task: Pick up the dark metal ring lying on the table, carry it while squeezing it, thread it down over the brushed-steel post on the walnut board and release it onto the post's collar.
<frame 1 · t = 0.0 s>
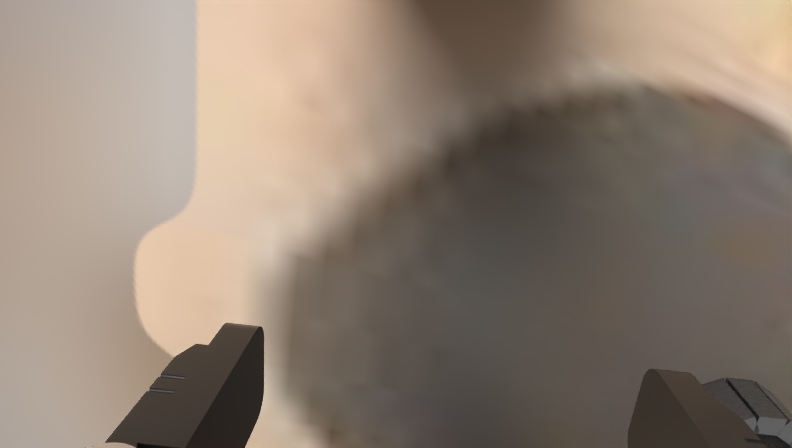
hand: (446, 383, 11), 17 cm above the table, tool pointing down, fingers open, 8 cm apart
ring: (723, 421, 31), on the table
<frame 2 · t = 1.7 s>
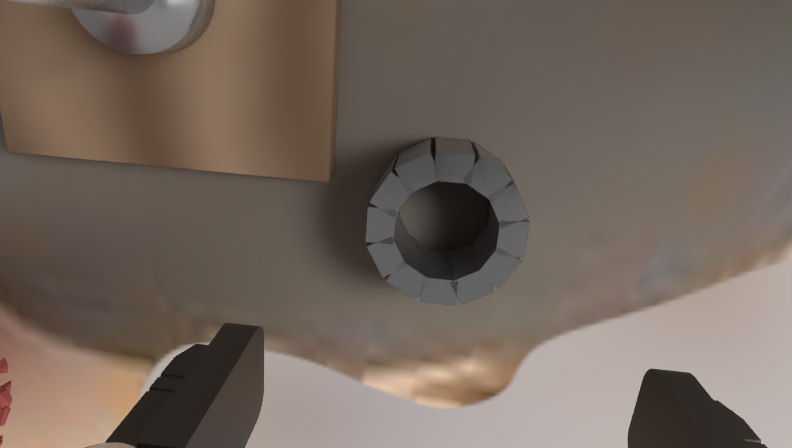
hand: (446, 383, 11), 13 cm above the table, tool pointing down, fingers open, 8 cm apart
ring: (444, 208, 23), on the table
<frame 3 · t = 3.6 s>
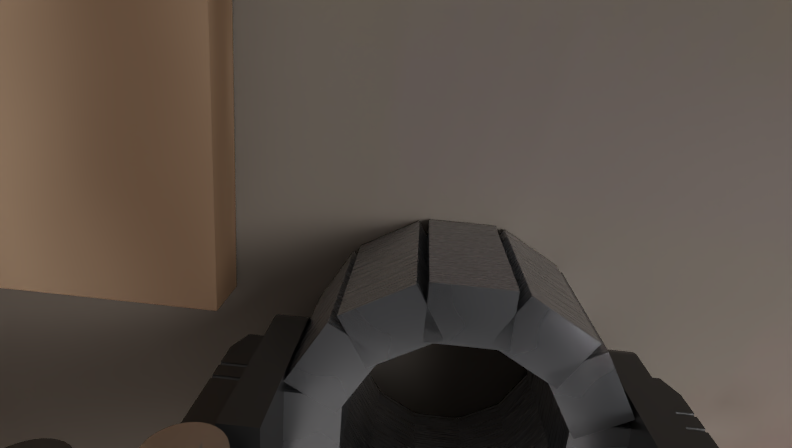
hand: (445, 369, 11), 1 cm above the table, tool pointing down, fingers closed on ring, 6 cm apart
ring: (445, 346, 12), on the table, touching gripper
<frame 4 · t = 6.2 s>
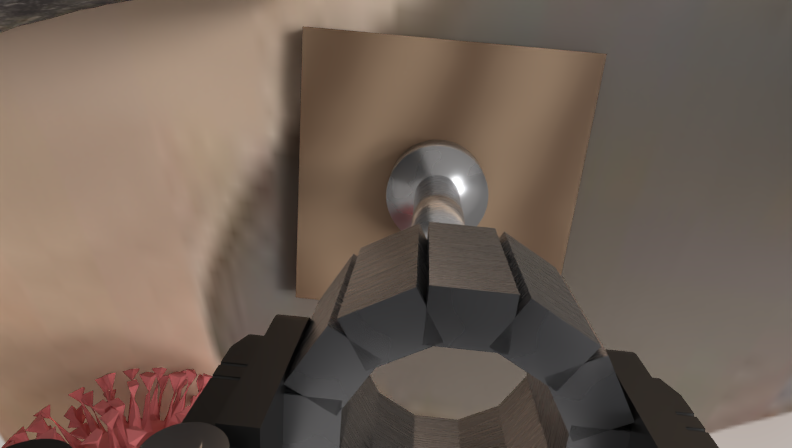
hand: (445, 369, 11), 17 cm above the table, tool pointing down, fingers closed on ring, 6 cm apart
virus model: (205, 416, 34), on the table
post: (437, 211, 22), on the board, point 5 cm above the table
ring: (445, 348, 12), point 16 cm above the table, touching gripper
board: (436, 181, 27), on the table
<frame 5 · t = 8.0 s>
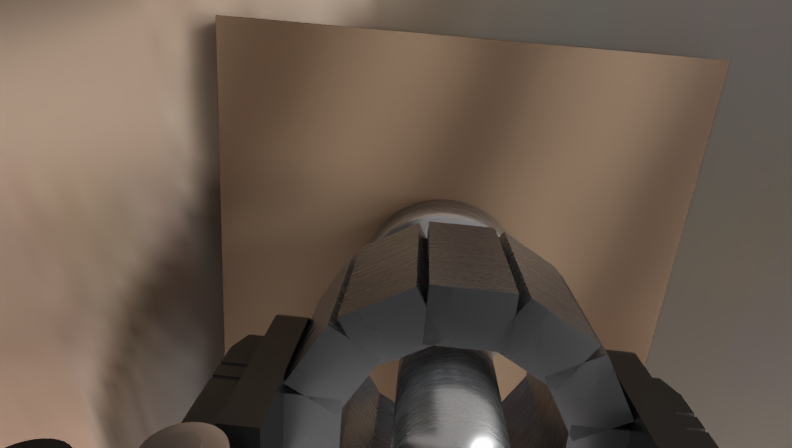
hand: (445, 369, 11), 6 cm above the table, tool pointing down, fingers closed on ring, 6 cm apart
post: (444, 343, 13), on the board, point 5 cm above the table
ring: (445, 347, 12), point 6 cm above the table, touching gripper
board: (439, 257, 18), on the table
when the fingers open (6 cm above the table, at t = 9.2 s): ring drops 2 cm, resting on post.
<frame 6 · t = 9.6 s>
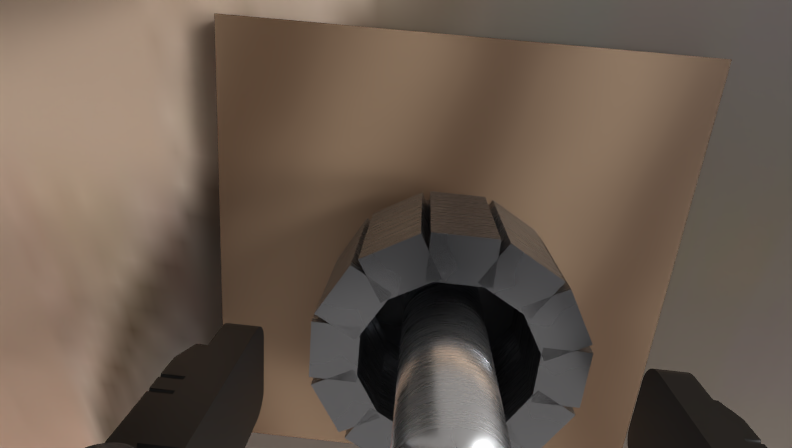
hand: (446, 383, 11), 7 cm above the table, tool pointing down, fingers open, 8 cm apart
post: (444, 343, 12), on the board, point 5 cm above the table
ring: (443, 299, 15), point 3 cm above the table, touching post
board: (439, 257, 18), on the table
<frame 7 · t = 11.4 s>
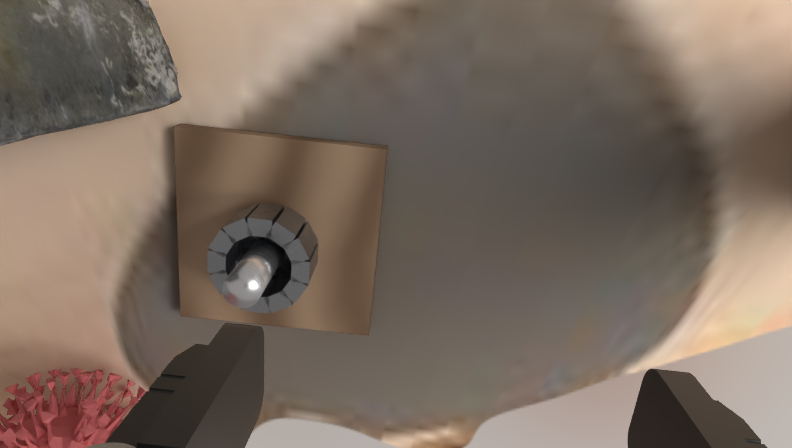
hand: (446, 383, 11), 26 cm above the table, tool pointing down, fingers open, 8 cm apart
concrete block: (1, 73, 35), on the table
virus model: (119, 406, 43), on the table
post: (261, 261, 32), on the board, point 5 cm above the table
ring: (271, 247, 35), point 3 cm above the table, touching post
board: (281, 231, 37), on the table
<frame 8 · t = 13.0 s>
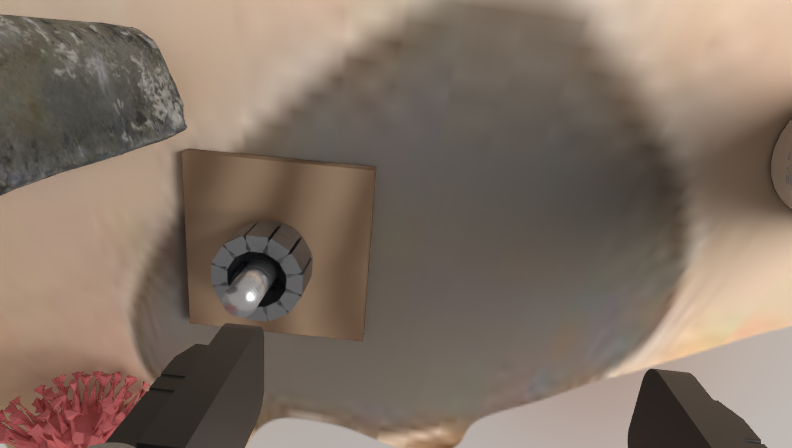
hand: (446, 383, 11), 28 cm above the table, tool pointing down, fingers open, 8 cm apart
concrete block: (29, 106, 39), on the table
virus model: (136, 406, 47), on the table
post: (259, 274, 36), on the board, point 5 cm above the table
ring: (270, 261, 38), point 3 cm above the table, touching post
board: (280, 245, 41), on the table
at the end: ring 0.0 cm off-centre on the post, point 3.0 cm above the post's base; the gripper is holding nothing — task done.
